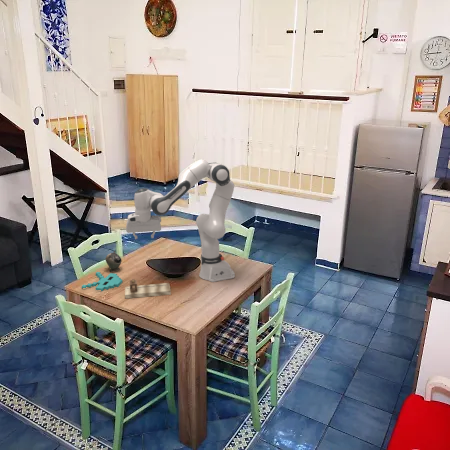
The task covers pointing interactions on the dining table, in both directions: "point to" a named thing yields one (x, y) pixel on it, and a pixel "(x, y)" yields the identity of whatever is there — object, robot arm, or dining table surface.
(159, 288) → the board
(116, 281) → the alien figure
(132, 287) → the gauge
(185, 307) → the dining table surface
